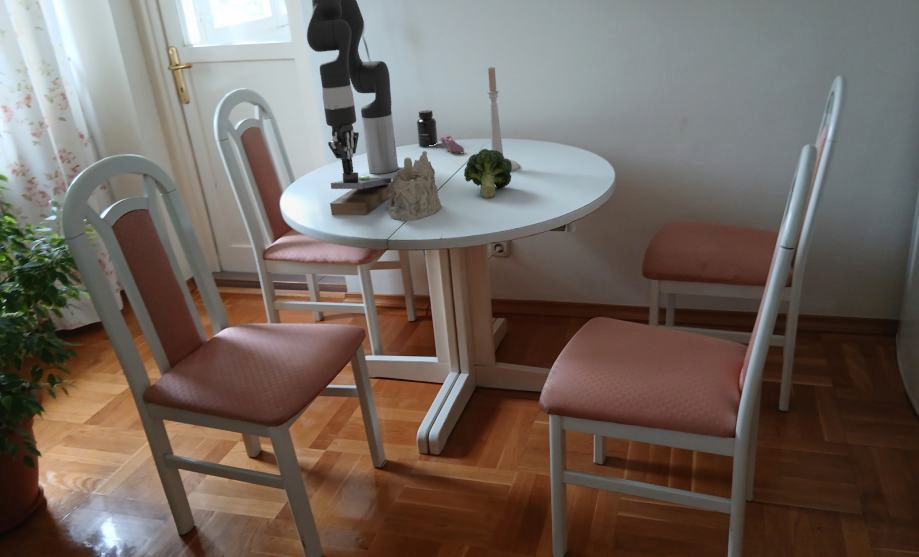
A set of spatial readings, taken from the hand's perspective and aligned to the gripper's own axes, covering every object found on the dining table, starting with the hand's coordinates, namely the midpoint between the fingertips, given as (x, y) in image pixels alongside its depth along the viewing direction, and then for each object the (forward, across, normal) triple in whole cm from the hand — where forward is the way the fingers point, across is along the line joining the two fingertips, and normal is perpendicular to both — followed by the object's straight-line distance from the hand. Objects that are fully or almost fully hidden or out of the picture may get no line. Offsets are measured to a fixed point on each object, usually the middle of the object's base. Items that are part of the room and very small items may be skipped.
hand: (348, 172), depth 191 cm
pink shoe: (+10, -66, +4) cm, 67 cm away
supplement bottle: (+10, -77, -8) cm, 78 cm away
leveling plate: (+5, -7, 0) cm, 8 cm away
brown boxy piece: (+10, -7, 0) cm, 12 cm away
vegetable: (+10, -19, +32) cm, 39 cm away
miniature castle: (+11, -2, +15) cm, 19 cm away
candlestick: (+10, -44, +27) cm, 52 cm away
